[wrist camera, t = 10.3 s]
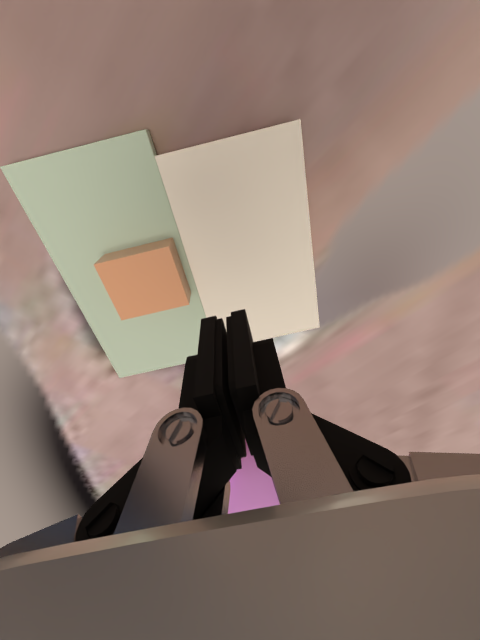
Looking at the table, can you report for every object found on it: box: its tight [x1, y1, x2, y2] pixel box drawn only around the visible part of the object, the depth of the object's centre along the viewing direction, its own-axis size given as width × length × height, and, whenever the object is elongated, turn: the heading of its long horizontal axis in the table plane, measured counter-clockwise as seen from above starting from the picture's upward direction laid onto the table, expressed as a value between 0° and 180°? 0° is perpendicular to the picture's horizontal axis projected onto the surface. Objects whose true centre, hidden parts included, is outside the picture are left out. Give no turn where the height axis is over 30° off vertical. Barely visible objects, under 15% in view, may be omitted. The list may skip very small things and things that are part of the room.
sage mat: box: [0, 129, 206, 378], centre depth 31 cm, size 13×24×2 cm, turn 12°
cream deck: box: [155, 119, 319, 342], centre depth 30 cm, size 12×20×3 cm, turn 12°
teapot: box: [228, 439, 279, 514], centre depth 43 cm, size 15×25×14 cm, turn 5°
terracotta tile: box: [94, 237, 191, 320], centre depth 29 cm, size 7×6×3 cm
